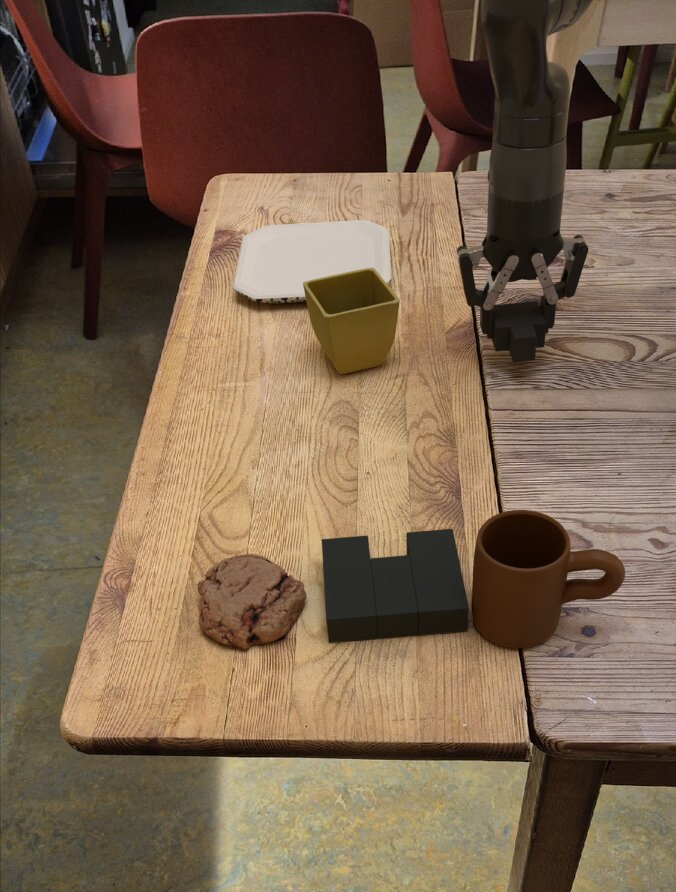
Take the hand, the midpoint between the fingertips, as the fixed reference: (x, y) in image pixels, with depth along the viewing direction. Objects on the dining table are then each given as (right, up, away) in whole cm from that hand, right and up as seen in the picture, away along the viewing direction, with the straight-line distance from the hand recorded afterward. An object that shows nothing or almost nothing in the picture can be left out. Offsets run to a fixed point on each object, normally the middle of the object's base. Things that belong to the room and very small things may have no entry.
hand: (516, 332), depth 105 cm
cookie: (-28, -31, -22) cm, 48 cm away
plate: (-24, +14, +21) cm, 34 cm away
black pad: (0, -1, 0) cm, 1 cm away
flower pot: (-18, -2, +5) cm, 19 cm away
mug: (-3, -33, -25) cm, 41 cm away
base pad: (-15, -30, -22) cm, 40 cm away
